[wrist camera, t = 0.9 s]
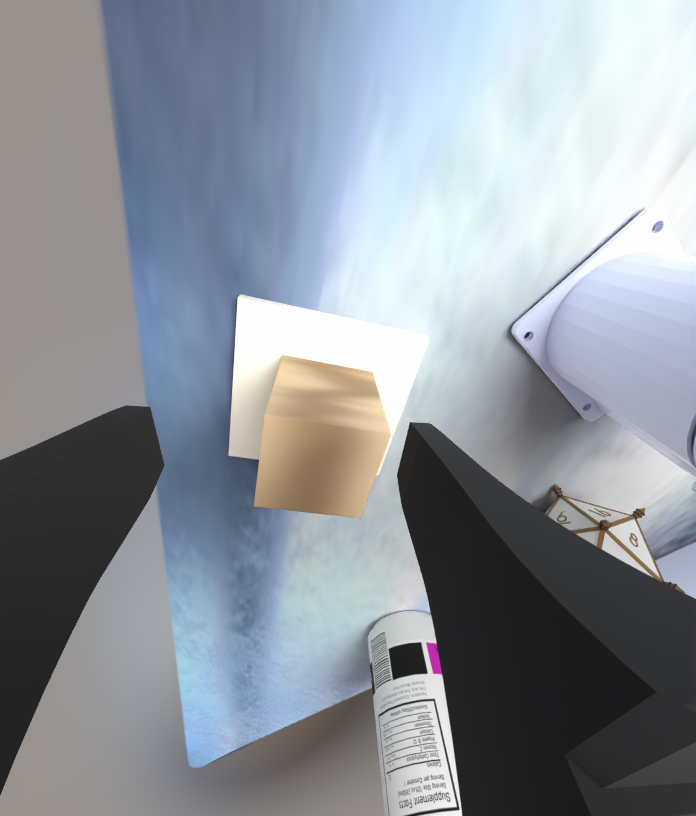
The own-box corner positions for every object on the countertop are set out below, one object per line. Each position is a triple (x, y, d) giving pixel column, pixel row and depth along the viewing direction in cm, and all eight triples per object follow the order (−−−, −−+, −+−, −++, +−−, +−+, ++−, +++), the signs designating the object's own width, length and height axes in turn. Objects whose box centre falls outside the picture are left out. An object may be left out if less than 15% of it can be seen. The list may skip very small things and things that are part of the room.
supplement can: (453, 608, 33) (534, 858, 20) (428, 646, 37) (482, 874, 24) (376, 605, 32) (411, 868, 19) (360, 645, 36) (379, 883, 23)
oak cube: (372, 372, 18) (391, 434, 13) (351, 442, 20) (360, 518, 15) (283, 354, 17) (265, 414, 12) (272, 430, 20) (253, 506, 15)
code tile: (426, 335, 18) (429, 338, 17) (377, 470, 23) (378, 476, 22) (240, 294, 16) (237, 297, 16) (230, 449, 21) (228, 455, 20)
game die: (505, 481, 29) (483, 551, 21) (617, 452, 24) (643, 530, 16) (554, 567, 29) (550, 671, 21) (677, 557, 24) (733, 688, 16)
